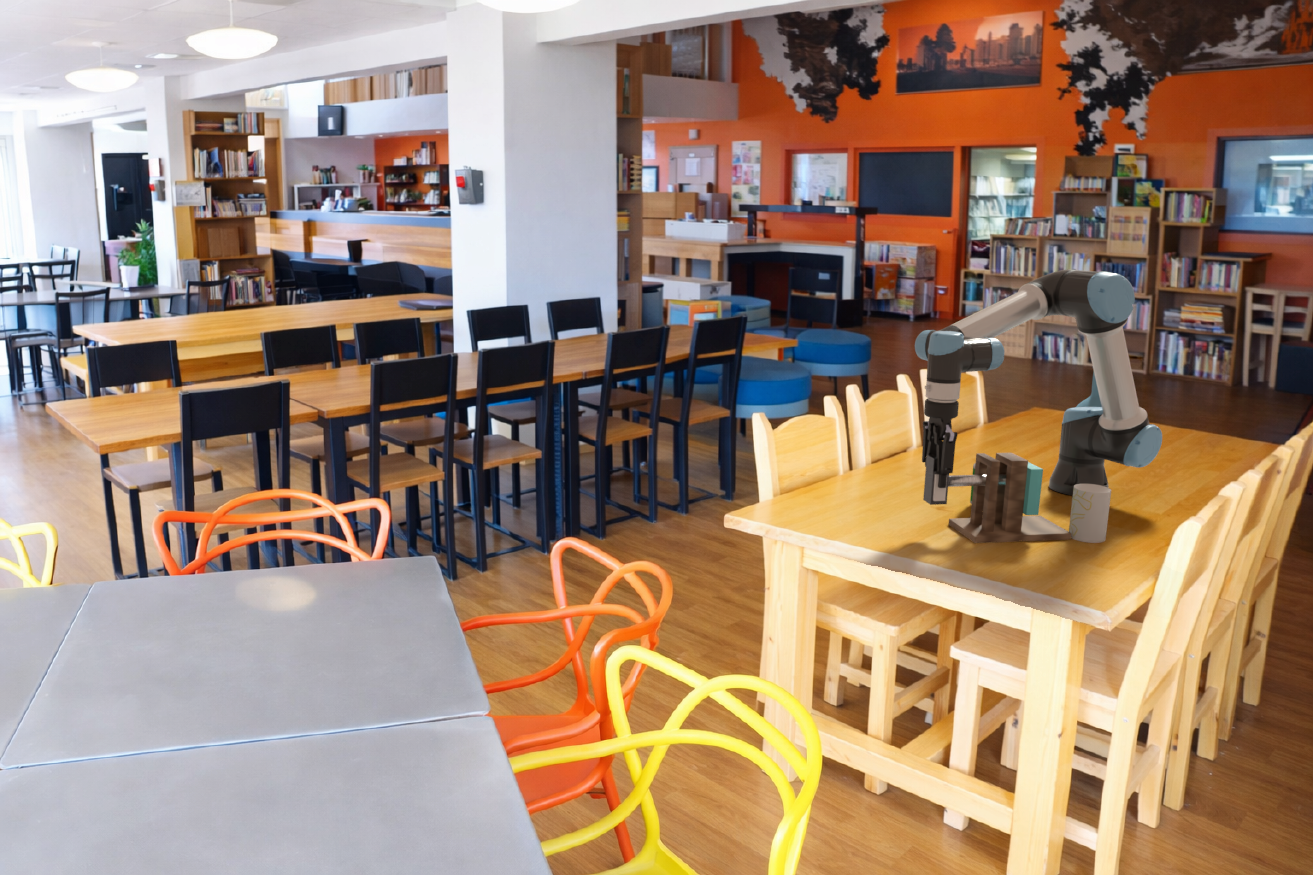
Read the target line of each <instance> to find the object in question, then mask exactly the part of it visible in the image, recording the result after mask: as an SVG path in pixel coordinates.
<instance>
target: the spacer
mask: <svg viewBox="0 0 1313 875" xmlns="http://www.w3.org/2000/svg"><path fill="white" fill-rule="evenodd" d="M1043 473H1044V468H1041V467H1039V466H1037V465H1036V464H1033V463H1031V462H1029V461H1028V468H1027V478H1026V488H1025V497H1024V507H1023V515H1024V516H1039V512H1040V511H1039V510H1040V501H1041V494H1042V483H1043V475H1044V474H1043Z"/></svg>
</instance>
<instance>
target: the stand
mask: <svg viewBox="0 0 1313 875" xmlns="http://www.w3.org/2000/svg"><path fill="white" fill-rule="evenodd" d="M1028 462H1029V460H1028V459H1025V458H1024V457H1021V456H1020V455H1017V454H1015V453H1013V452H996V453H995V458H994V457H992V456H990V455H989V454H986V453H984V452H983V453H982V452H981V453H980V452H979V453H975V462H974V464H975V474H974V475H986V485H985V486H973V496H972V504H971V510H970V517H959V518H958V517H956V518H948V525H949V526H950V527H952V528H953V529H954V530H956V531H957V532H958V531H959V532H958V533H960V534H961V535H962V536H964V537H965V538H967V539H969V540H970V541H971V542H973V543H974V544H986V543H987V544H988V543H1007V542H1008V543H1010V542H1011V543H1012V542H1013V543H1014V542H1036V541H1040V542H1041V541H1060V540H1061V541H1063V540H1072V538H1071V533H1070V532H1069V530H1066V529H1065V528H1063V527H1061V526H1059V525H1058V524H1056V523H1054V522H1053V521H1051V520H1049V519H1047V518H1046V517H1044V516H1042V515H1024V514H1023V507H1024V497H1025V488H1026V478H1027V468H1028ZM999 474H1006V484H1005V485H998V478H999ZM984 495H985V496H984ZM983 506H984V507H983Z"/></svg>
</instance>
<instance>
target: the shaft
mask: <svg viewBox="0 0 1313 875" xmlns="http://www.w3.org/2000/svg"><path fill="white" fill-rule="evenodd" d="M924 472H925V475H924V485H923V486H924V487H923V489H924V490H923V498H922V499H923V501H925V502H926V503H927V504H928V505H930V506H934V505H935V506H936V505H938V506H939V505H947V504H948V491H949V487H950V488H952V487H954V488H955V487H971V486H985V485H986V475H973V474H960V475H959V474H958V475H957V474H956V475H950V473H949V474H947V483H946V496H945V501H933V491H934V478H935V474H934V472H937V454H931V455H927V460H926V467H925V471H924ZM1005 484H1006V474H999V478H998V485H1005Z"/></svg>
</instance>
